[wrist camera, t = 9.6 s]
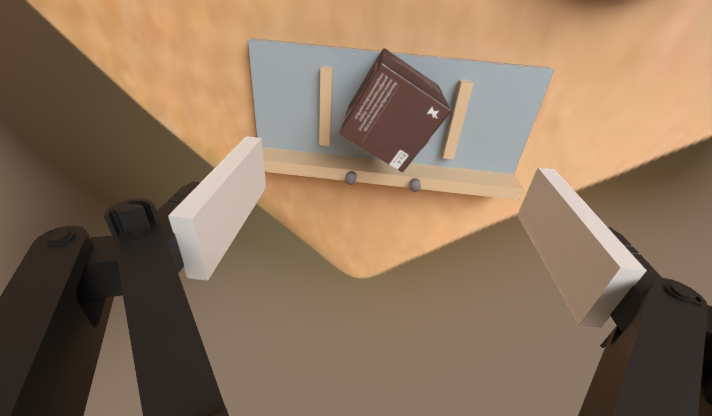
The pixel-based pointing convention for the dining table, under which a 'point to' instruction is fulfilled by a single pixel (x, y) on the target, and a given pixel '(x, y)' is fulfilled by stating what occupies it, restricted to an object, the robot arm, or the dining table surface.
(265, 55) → the board
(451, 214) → the dining table surface
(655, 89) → the dining table surface
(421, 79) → the box
